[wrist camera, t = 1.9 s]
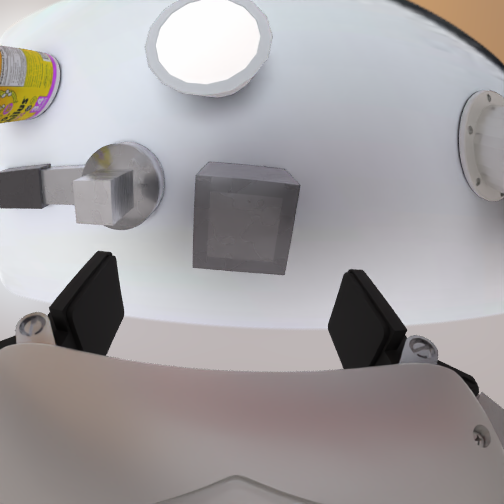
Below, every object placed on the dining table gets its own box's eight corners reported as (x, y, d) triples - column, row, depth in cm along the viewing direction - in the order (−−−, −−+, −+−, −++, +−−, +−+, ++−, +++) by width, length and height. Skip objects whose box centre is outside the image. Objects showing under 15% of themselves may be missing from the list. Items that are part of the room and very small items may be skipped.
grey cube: (285, 169, 21) (300, 185, 15) (274, 238, 23) (284, 275, 18) (208, 161, 20) (195, 175, 15) (204, 232, 23) (192, 267, 18)
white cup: (194, 119, 19) (172, 117, 13) (161, 50, 16) (128, 24, 10) (277, 85, 18) (294, 67, 12) (242, 16, 15) (242, -25, 9)
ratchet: (166, 141, 20) (139, 148, 14) (164, 223, 23) (141, 255, 17) (5, 154, 18) (-34, 167, 13) (11, 215, 21) (-23, 237, 16)
